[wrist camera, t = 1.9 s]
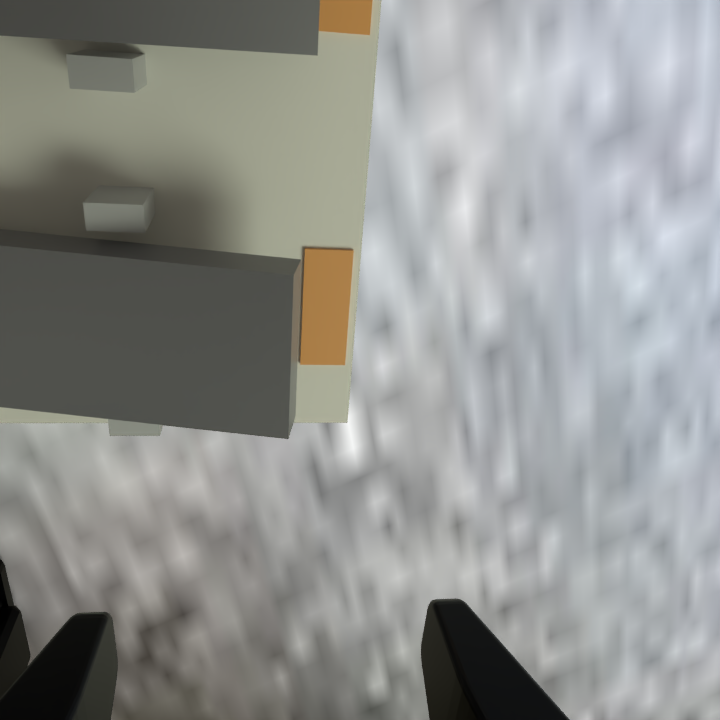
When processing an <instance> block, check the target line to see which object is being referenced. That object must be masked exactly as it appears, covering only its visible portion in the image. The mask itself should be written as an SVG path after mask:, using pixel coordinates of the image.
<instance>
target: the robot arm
mask: <svg viewBox="0 0 720 720" xmlns="http://www.w3.org/2000/svg"><path fill="white" fill-rule="evenodd" d="M29 660H30V651H29V646H28V642H27V637H26V633H25V628H24V624H23V619H22V615H21V611H20V610H19V609H18V608H17V607H16V606H14V604H13V599H12V595H11V591H10V586H9V582H8V577H7V573H6V569H5V565H4V563H3V561H2V560H0V720H111V714H112V707H113V700H114V694H115V687H116V680H117V670H118V658H117V650H116V642H115V634H114V627H113V620H112V617H111V615H110V614H109V613H107V612H88V613H77V614H75V615H73V616H72V617H71V618H70V619H69V620H68V621H67V622H66V623H65V624H64V625H63V627H62V628H61V629H60V630H59V631H58V632H57V633H56V635H55V636H54V637H53V638H52V639H51V640H50V642H49V643H48V644H47V645H46V646H45V647H44V648H43V650H42V651H41V652H40V653H39V654H38V655H37V656H36V658H35V659H34V660H33V661H32V662H31V663H30V665H29V666H27V665H28V662H29ZM421 660H422V668H423V675H424V682H425V689H426V696H427V704H428V711H429V718H430V720H569V718H568V717H567V716H566V715H565V714H564V713H563V712H562V711H561V710H560V708H559V707H558V706H557V705H556V704H555V703H554V702H553V701H552V699H551V698H550V697H549V696H548V695H547V694H546V693H545V692H544V690H543V689H542V688H541V687H540V686H539V685H538V684H537V683H536V681H535V680H534V679H533V678H532V677H531V676H530V675H529V674H528V672H527V671H526V670H525V669H524V668H523V667H522V666H521V665H520V663H519V662H518V661H517V660H516V659H515V658H514V657H513V656H512V654H511V653H510V652H509V651H508V650H507V649H506V648H505V647H504V645H503V644H502V643H501V642H500V641H499V640H498V639H497V638H496V636H495V635H494V634H493V633H492V632H491V631H490V630H489V629H488V627H487V626H486V625H485V624H484V623H483V622H482V621H481V620H480V618H479V617H478V616H477V615H476V614H475V613H474V612H473V611H472V609H471V608H470V607H469V606H468V605H467V604H466V603H465V602H464V601H462V600H460V599H435V600H432V601H431V602H430V604H429V606H428V609H427V615H426V620H425V626H424V632H423V638H422V644H421Z"/></svg>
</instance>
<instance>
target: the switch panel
mask: <svg viewBox="0 0 720 720" xmlns="http://www.w3.org/2000/svg"><path fill="white" fill-rule="evenodd" d="M380 10H381V0H320V11H319V34H318V56H316V55H300V54H284V53H268V52H253V51H237V50H221V49H205V48H189V47H174V46H158V45H142V44H126V43H110V42H94V41H79V40H63V39H47V38H31V37H15V36H0V229H4V230H14V231H24V232H34V233H44V234H53V235H63V236H73V237H83V238H93V239H103V240H113V241H123V242H133V243H143V244H153V245H163V246H173V247H183V248H193V249H203V250H213V251H223V252H233V253H243V254H253V255H263V256H273V257H283V258H293V259H301V284H300V310H299V337H298V363H297V390H296V416H295V419H294V422H293V423H347V420H348V408H349V395H350V383H351V370H352V358H353V346H354V333H355V321H356V308H357V296H358V283H359V271H360V259H361V246H362V234H363V221H364V209H365V197H366V184H367V172H368V159H369V147H370V134H371V122H372V110H373V97H374V85H375V72H376V60H377V48H378V35H379V23H380ZM0 423H108V424H109V433H110V436H160V434H161V430H162V426H163V425H157V424H148V423H139V422H130V421H121V420H112V419H103V418H94V417H85V416H76V415H67V414H58V413H49V412H40V411H30V410H21V409H12V408H3V407H0Z"/></svg>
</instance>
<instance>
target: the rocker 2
mask: <svg viewBox="0 0 720 720" xmlns="http://www.w3.org/2000/svg"><path fill="white" fill-rule="evenodd" d="M300 284H301V259H293V258H283V257H273V256H263V255H253V254H243V253H233V252H223V251H213V250H203V249H193V248H183V247H173V246H163V245H153V244H143V243H133V242H123V241H113V240H103V239H93V238H83V237H73V236H63V235H53V234H44V233H34V232H24V231H14V230H4V229H0V407H3V408H12V409H21V410H30V411H40V412H49V413H58V414H67V415H76V416H85V417H94V418H103V419H112V420H121V421H130V422H139V423H148V424H157V425H167V426H176V427H185V428H194V429H203V430H212V431H221V432H230V433H239V434H248V435H257V436H266V437H275V438H284V439H288V438H289V435H290V432H291V429H292V426H293V422H294V419H295V416H296V390H297V363H298V337H299V310H300Z"/></svg>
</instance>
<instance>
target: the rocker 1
mask: <svg viewBox="0 0 720 720" xmlns="http://www.w3.org/2000/svg"><path fill="white" fill-rule="evenodd" d="M319 11H320V0H0V36H15V37H31V38H47V39H63V40H79V41H94V42H110V43H126V44H142V45H158V46H174V47H189V48H205V49H221V50H237V51H253V52H268V53H284V54H300V55H316V56H318V34H319Z"/></svg>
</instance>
